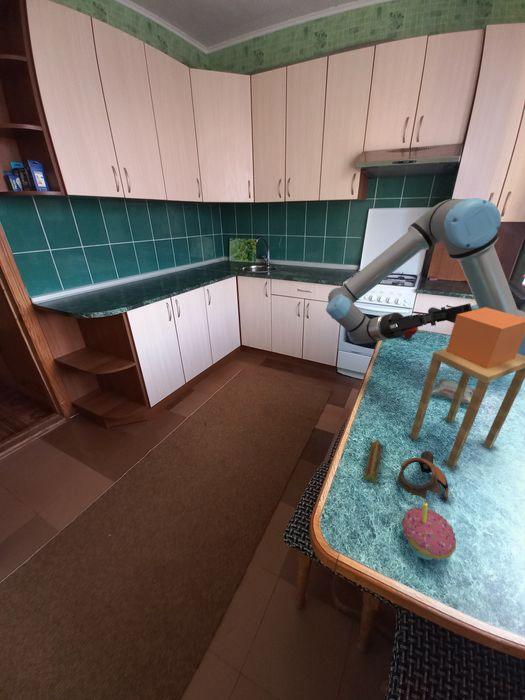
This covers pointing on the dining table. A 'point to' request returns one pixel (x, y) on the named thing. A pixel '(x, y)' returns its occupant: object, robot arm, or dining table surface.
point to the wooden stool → (485, 376)
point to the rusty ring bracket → (427, 467)
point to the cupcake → (428, 533)
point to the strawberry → (410, 332)
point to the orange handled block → (485, 336)
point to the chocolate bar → (373, 462)
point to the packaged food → (452, 391)
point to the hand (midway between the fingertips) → (466, 310)
